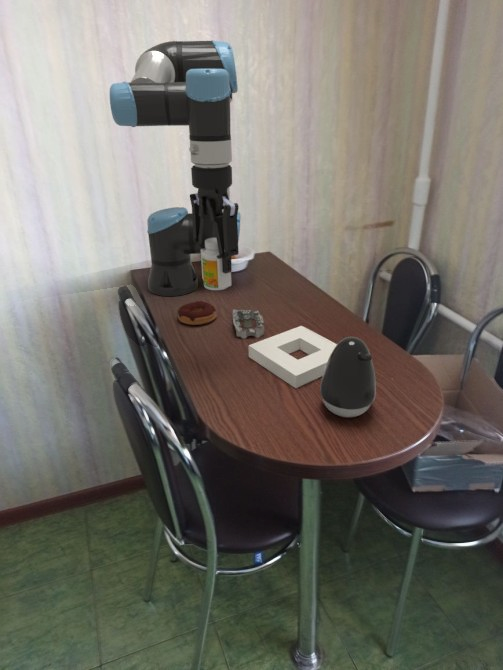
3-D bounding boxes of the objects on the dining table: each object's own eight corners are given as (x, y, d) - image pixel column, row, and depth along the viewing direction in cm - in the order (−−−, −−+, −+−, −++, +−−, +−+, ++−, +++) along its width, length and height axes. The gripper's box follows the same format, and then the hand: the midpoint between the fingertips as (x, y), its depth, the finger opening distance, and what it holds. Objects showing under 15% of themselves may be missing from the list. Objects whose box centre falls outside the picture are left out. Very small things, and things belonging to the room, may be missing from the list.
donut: (212, 309, 131) (211, 296, 129) (220, 324, 123) (219, 310, 121) (176, 314, 129) (174, 300, 127) (181, 330, 120) (180, 315, 119)
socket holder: (248, 356, 108) (248, 345, 107) (300, 336, 116) (301, 325, 115) (295, 388, 97) (296, 375, 95) (349, 363, 105) (350, 351, 104)
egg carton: (265, 338, 116) (265, 324, 114) (234, 340, 116) (233, 325, 114) (261, 319, 126) (261, 305, 124) (232, 320, 125) (232, 306, 123)
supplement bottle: (198, 286, 98) (195, 240, 94) (217, 279, 102) (215, 234, 97) (216, 293, 95) (214, 246, 91) (235, 285, 99) (233, 240, 94)
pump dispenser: (338, 432, 84) (345, 358, 77) (309, 400, 93) (313, 331, 86) (384, 417, 88) (395, 346, 81) (352, 388, 96) (360, 321, 89)
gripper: (169, 160, 92) (178, 273, 103) (222, 173, 79) (226, 301, 90) (202, 157, 96) (208, 266, 107) (258, 168, 83) (258, 291, 94)
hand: (216, 282), depth 98 cm, fingers closed on supplement bottle, 5 cm apart
